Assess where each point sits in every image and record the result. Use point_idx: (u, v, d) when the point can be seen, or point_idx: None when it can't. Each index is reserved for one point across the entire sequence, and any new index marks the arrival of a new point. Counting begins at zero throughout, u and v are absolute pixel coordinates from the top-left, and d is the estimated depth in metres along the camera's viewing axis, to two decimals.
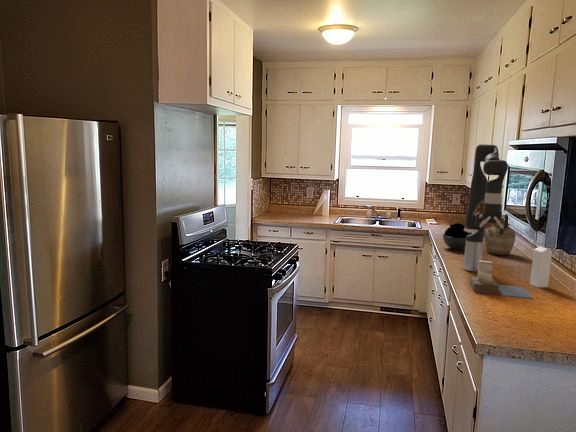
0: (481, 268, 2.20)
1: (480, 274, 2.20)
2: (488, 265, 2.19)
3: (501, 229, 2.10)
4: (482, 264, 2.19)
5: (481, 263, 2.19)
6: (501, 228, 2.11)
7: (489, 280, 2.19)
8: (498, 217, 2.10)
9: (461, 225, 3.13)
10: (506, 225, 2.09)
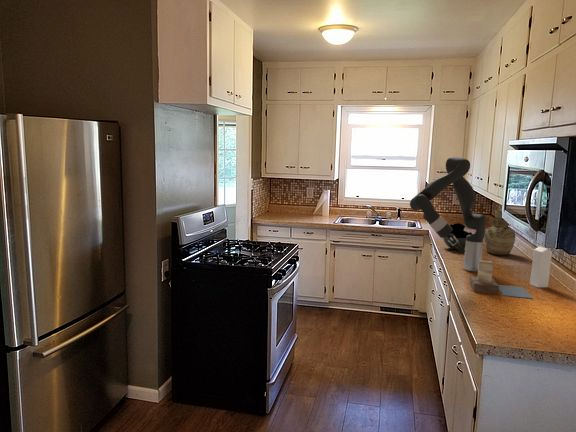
0: (481, 268, 2.20)
1: (480, 274, 2.20)
2: (488, 265, 2.19)
3: (457, 248, 2.19)
4: (482, 264, 2.19)
5: (481, 263, 2.19)
6: None
7: (489, 280, 2.19)
8: (449, 239, 2.21)
9: (461, 225, 3.13)
10: None
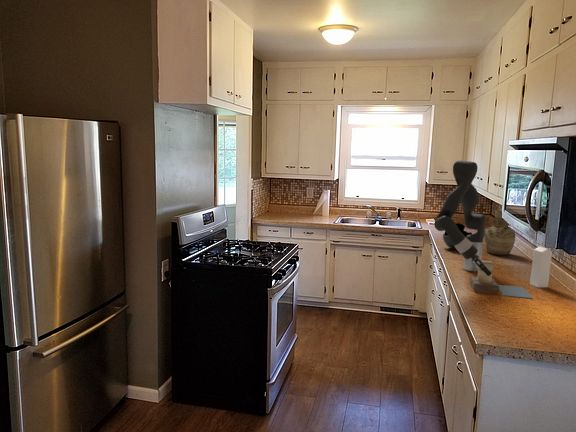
0: None
1: (480, 274, 2.20)
2: (488, 265, 2.19)
3: None
4: None
5: None
6: (483, 270, 2.19)
7: (489, 280, 2.19)
8: (475, 262, 2.19)
9: (461, 225, 3.13)
10: (481, 269, 2.17)
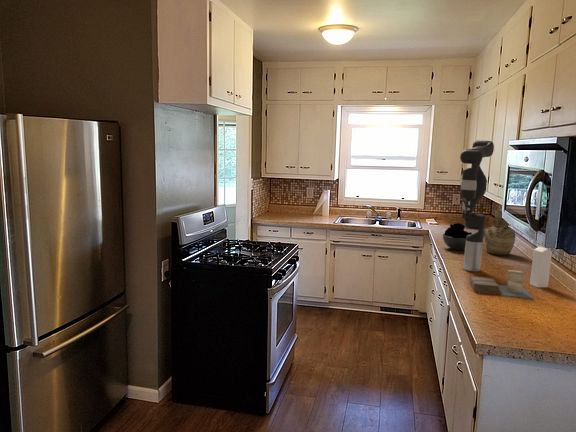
0: (510, 278, 2.17)
1: (510, 284, 2.17)
2: (518, 275, 2.16)
3: (465, 214, 2.26)
4: (512, 274, 2.16)
5: (511, 273, 2.16)
6: (465, 213, 2.26)
7: (519, 290, 2.16)
8: (465, 202, 2.27)
9: (461, 225, 3.13)
10: (465, 210, 2.24)
